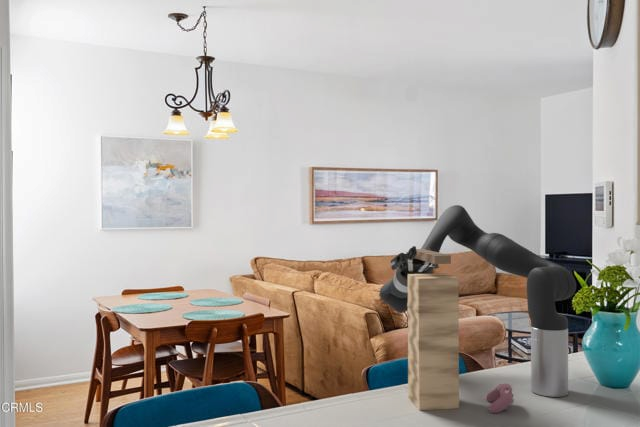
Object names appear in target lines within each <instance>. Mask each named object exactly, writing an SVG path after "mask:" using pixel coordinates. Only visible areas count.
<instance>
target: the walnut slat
mask: <svg viewBox="0 0 640 427" xmlns="http://www.w3.org/2000/svg"><path fill="white" fill-rule="evenodd" d="M451 256H452V255H451V254H448V253H442V252H440V251H439V252H434V251H430V250H426V249H421V248H416V255H415V257H414V258H416V259H419V260H423V261H426V262H429V263H433V264H438V265H451V263H452V262H451V261H452V259H451V258H452V257H451Z"/></svg>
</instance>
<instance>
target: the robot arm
mask: <svg viewBox="0 0 640 427" xmlns="http://www.w3.org/2000/svg"><path fill="white" fill-rule="evenodd" d="M447 237H448V238H449V239H450V240H452V242H454V243H456V244H457V245H460V246H463V247H465V248H466V249H469V250H471V251H473V252H474V253H475V254H476V255H478V257H480V258H481V259H483V260H485V261H486V262H488V263H489V264H490V265H492V266H493V267H495V268H496V269H498V270H500V271H503V272H505V273H509V274H512V275H515V276H518V277H523V278H526V302H527V304H526V305H527V313H528V316H529V320H530V390H531V392H532V393H534V394H535V395H540V396H545V397H550V398H551V397H552V398H553V397H555V398H559V397H565V396H568V394H569V319H568V317H567V316H565V315H563V314H560V313H559V312H557V309H556V302H558V301H564V300H567V299H569V298H571V297H572V296H574V294H575V292H576V290H577V281H576V279H575V277H574V275H573V274H572V272H571V271H570V270H569V269H568V268H566V267H564V266H562V265H560V264H558V263H555V262H553V261H550V260H548V259H545V258H544V257H541V256H540V255H537V254H536V253H534V252H533V251H531V250H529V249H528V248H526V247H525V246H524V245H523V246H522V245H520V244H518V242H516V241H515V240H513V239H512V238H509V237H507V236H506V235H504V234H501V233H499V232H490V233H487V232H486V231H484V230H482V229H481V228H480V227H478V225H477V224H476V223H475V222H474V220H473V219H472V217H471V216H470V214H469V212H468V211H467V210H466V209H465V207H464V206H463V205H459V204H457V205H456V204H455V205H452V206H451V205H450V206H449V207H447V208H446V209H445V210H444V211H443V212H442V214H441V215H440V216H439V218H438V219H437V221H436V223H435V225H434V226H433V228H432V229H431V231H430V232H429V235H428V236H427V238H426V240H425V241H424V243H423V245H422V247H421V248H420V249H426V250H430V251H434V252H439V253H440V251H441V248H442V246H443V243H444V241H445V240H446V238H447ZM416 249H417V247H416V246H415V245H413V246H412V247H410V248H409V249H408V251H406V253H405V252H399V253H398V254H397V255H396V256H395V257H393V258H392V259H391V260H390V266H391V270H393V271H394V270H395V271H394V274H393V278H392V279H390V280H388V281H386V282H385V283H383V285H382V286H381V288H380V289H379V298H380V299H381V300H382V301H383V302H385V303H386V304H387V305H388V306H389V307H390V308H391V309H393V310H394V311H395V312H397V313H399V314H402V313H406V312H408V307H407V303H408V274H432V272H433V270H434V269H439V268H440V266H439V264H433V263H429V262H426V261H423V260H419V259H416V258H414V257H415V255H416Z"/></svg>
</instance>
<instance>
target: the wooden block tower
mask: <svg viewBox="0 0 640 427" xmlns="http://www.w3.org/2000/svg"><path fill="white" fill-rule="evenodd" d="M459 294H460V293H459V277H457V276H453V275H451V274H448V273H445V272H443V273H442V272H440V273H439V272H438V273H430V274H408V303H407V307H408V310H407V388H408V389H407V390H408V392H407V394H408V396H407V397H408V399H409V400H410V401H411V403H413V405H414V406H415V407H416V408H417V409H418V410H419V411H427V410H428V411H430V410H431V411H433V410H449V409H450V410H451V409H460V366H459V365H460V364H459V363H460V362H459V361H460V351H459V349H460V342H459V341H460V340H459V339H460V338H459V337H460V334H459V333H460V332H459V331H460V330H459V327H460V325H459V324H460V322H459V320H460V318H459V317H460V316H459V313H460V308H459V307H460V306H459V298H460V297H459Z"/></svg>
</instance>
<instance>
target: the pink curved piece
mask: <svg viewBox="0 0 640 427" xmlns="http://www.w3.org/2000/svg"><path fill="white" fill-rule="evenodd" d="M485 399H486V401H487V402H489V403H491V404H490V405H489V407H488V410H489V412H490V414H498V413H500V412H503V411H505V410H506V408H508V407H509V406H510V405H513V403H514V402H515V400H514V393H513V387H512V385H511V384H508V383H504V382H503V381H502V382H501V383H500V384H498V385H497V386H496V387H495V388H494V389H492V390H490V391H489V392H488V393H487V394H486V397H485Z"/></svg>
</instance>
